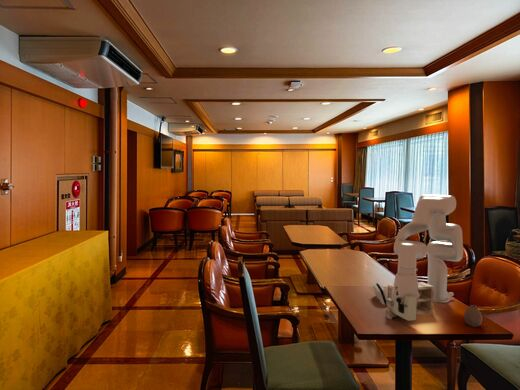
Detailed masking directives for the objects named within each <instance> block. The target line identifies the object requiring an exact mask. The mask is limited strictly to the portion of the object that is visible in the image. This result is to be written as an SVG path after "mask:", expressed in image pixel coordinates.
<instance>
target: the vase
mask: <svg viewBox="0 0 520 390" xmlns="http://www.w3.org/2000/svg"><path fill="white" fill-rule="evenodd" d="M463 316H464V321H465V323H466V325H468V326H470V327H474V328H477V327H480V326H481V324H482V321H483V315H482V312H481V311H480V310H479V308H478V306H477V305H475V304H470V306H469V307H468V308H466V310H465V311H464V315H463Z"/></svg>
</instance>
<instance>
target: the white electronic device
mask: <svg viewBox="0 0 520 390" xmlns="http://www.w3.org/2000/svg"><path fill="white" fill-rule="evenodd" d="M372 288H373V292H374V295H375V297H376V296H377V297H376V299H379V300H380V301H379V302H380V304H381V305H382V304H384V305H383V306H385V305H386V299H387V297H388V293H387V292H386V289H385V287H384V286H383V284H381V282H376V283H373V284H372Z"/></svg>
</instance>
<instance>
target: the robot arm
mask: <svg viewBox="0 0 520 390" xmlns="http://www.w3.org/2000/svg"><path fill="white" fill-rule="evenodd" d="M456 199H457V198H456V197H455V196H454V195H452V194H451V195H449V194H421V195H420V196H419V198H418V200H417V202H416V206H415V209H414V212H413V216H412V220H411V221H410V222H409V223H407V224H405V225H404V226H403V227H402V228H401V229H400V230H399V231H398V232H397V235H396V238H395V240H394V244H393V252H394V253H395V255H397V256H398V257H397V258H398V260H397V273H396V274H395V275H394V281H393V284H394V288H393V295H392V298H394V299H395V300H396V301H397V303H398V311H399V312H400V313H404V304H403V301H404V297H405V296H415V297H417V298H418V297H419V296H420V294H419V292H418V282H419V281H418V280H419V279H418V274H417V272H418V271H419V270H418V269H419V268H418V267H417V259H419V260H420V259H423V258H425V257H426V256H427V283H426V284H429V285H431V286H434V289H433V303H438V304H440V303H442V304H443V303H444V304H446V303H449V302H450V298H449V297H453V296H454V292H451V291H450V292H448V291H447V288H448V287H447V286H448V267H447V264H446V263H445V261H449V262H461V260H463V257H464V244H463V241H464V239H463V229H462V227H461V226H460V225H459V224H457V223H447V219H446V216H449V215H450V214H452V213H453V212H454V211H455V210H456V209H457V208H456V207H457V200H456ZM426 231H428V235H429V238H430V239H431V240H432V241H430V242H428V243H427V245H426V244H425V243H423V242H421V241H414V240H407V239H408V237H410V236H412V235H415V234H419V233H423V232H426ZM433 240H434V241H433ZM397 295H398V297H397ZM400 299H401V300H400Z"/></svg>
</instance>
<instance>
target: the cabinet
mask: <svg viewBox="0 0 520 390" xmlns="http://www.w3.org/2000/svg"><path fill="white" fill-rule="evenodd" d="M393 288H394V283H389V284H387V299H386V303H385V305H386V306H387V307H386V309H385V318H387V319H389V320H393V318H397V316H398V315H396V314H394V313H393V312H392V311H391V307H392V306H393V301H392V290H393ZM433 289H434V286H431V285H429V284H427V283H426V282H423V281H418V292H419V294H420V296H419V297H418V298H417V306H416V315H426V314H433V313H434V312H433V311H434V302H433ZM399 318H401V319H403V318H402V317H400V316H399Z"/></svg>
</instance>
